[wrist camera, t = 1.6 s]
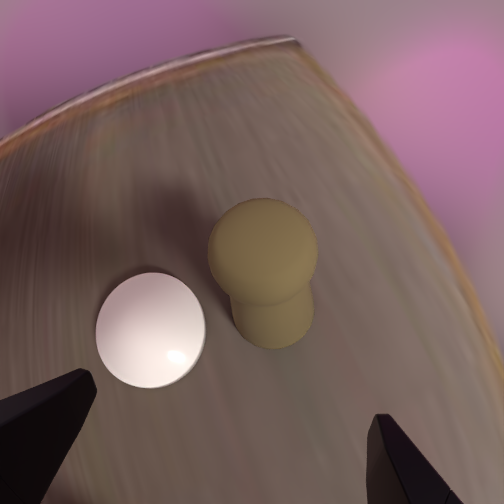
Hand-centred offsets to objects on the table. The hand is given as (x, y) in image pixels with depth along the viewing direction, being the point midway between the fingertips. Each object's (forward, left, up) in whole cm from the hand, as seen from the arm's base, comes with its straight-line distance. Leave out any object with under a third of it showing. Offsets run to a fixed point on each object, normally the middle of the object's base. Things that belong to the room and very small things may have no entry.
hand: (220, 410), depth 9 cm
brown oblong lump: (+6, +4, -14) cm, 15 cm away
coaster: (-2, +10, -13) cm, 17 cm away
